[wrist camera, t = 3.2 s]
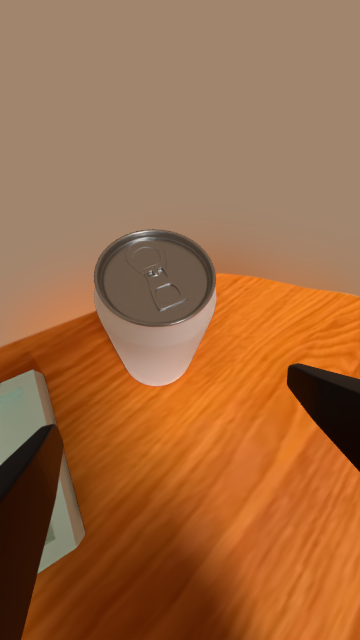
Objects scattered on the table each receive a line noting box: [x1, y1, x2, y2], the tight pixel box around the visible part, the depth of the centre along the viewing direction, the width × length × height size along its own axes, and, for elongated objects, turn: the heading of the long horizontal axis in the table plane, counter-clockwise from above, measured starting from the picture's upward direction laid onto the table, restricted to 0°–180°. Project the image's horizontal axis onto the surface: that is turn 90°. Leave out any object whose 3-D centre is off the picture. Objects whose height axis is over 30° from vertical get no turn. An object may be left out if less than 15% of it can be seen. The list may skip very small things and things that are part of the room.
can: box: [94, 229, 216, 386], centre depth 15 cm, size 6×6×12 cm
